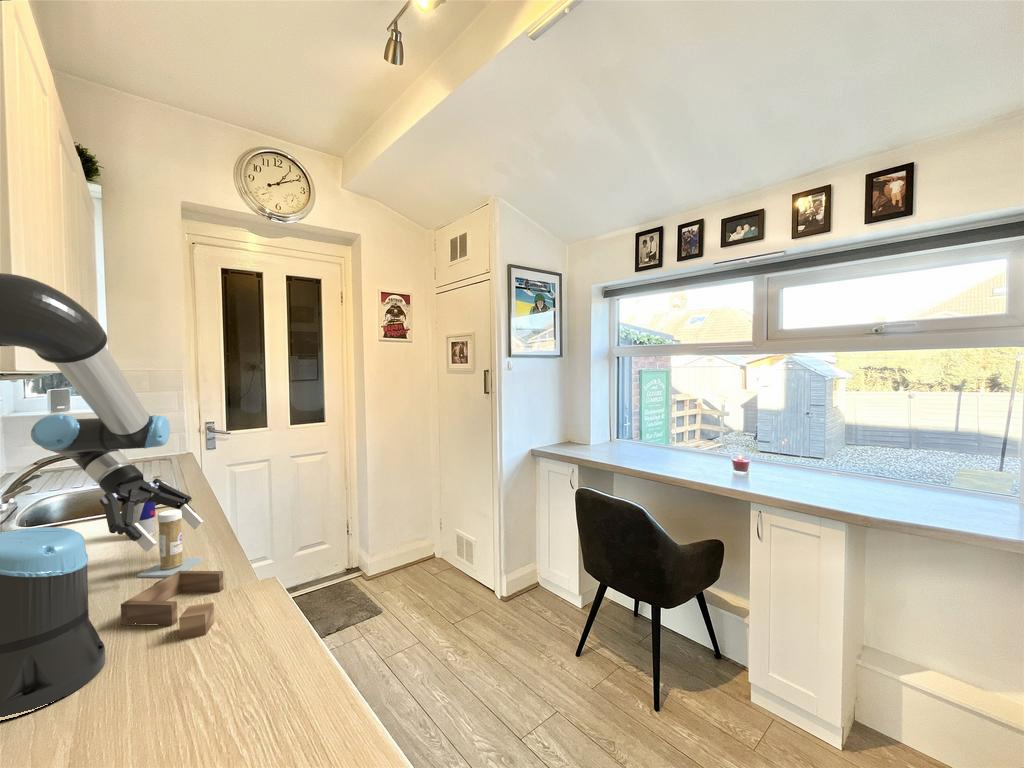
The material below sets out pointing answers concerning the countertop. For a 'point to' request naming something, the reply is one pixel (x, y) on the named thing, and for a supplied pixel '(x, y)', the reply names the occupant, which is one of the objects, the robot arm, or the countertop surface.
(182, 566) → the coaster
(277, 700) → the countertop surface
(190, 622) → the walnut cube
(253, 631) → the countertop surface
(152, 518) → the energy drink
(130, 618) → the cubby
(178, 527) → the spice jar
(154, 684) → the countertop surface
